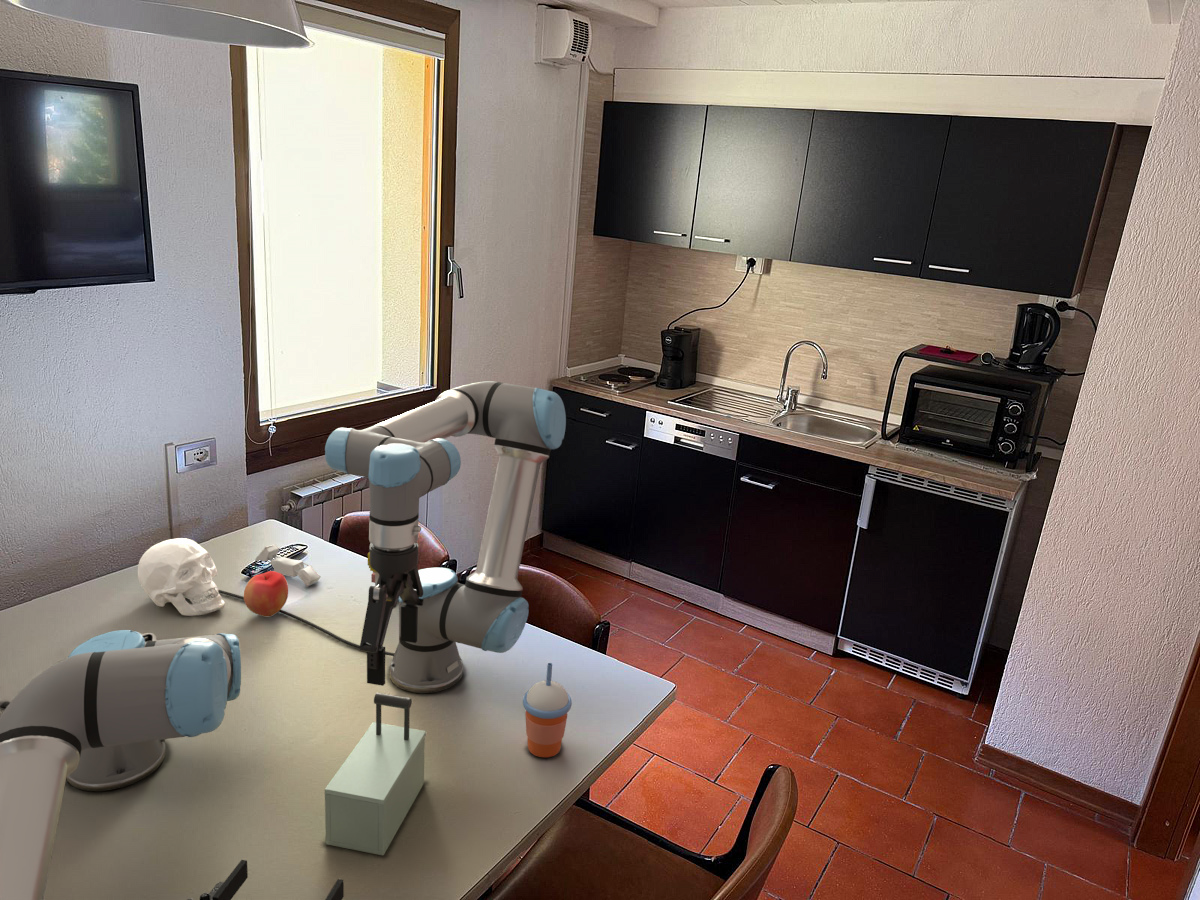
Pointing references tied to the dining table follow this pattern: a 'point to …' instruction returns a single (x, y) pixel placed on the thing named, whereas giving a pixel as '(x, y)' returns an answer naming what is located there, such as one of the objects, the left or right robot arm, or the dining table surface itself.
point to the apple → (266, 593)
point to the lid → (378, 756)
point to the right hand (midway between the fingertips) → (393, 661)
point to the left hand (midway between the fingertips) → (292, 877)
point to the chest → (373, 812)
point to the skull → (180, 576)
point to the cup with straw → (546, 716)
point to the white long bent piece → (288, 565)
